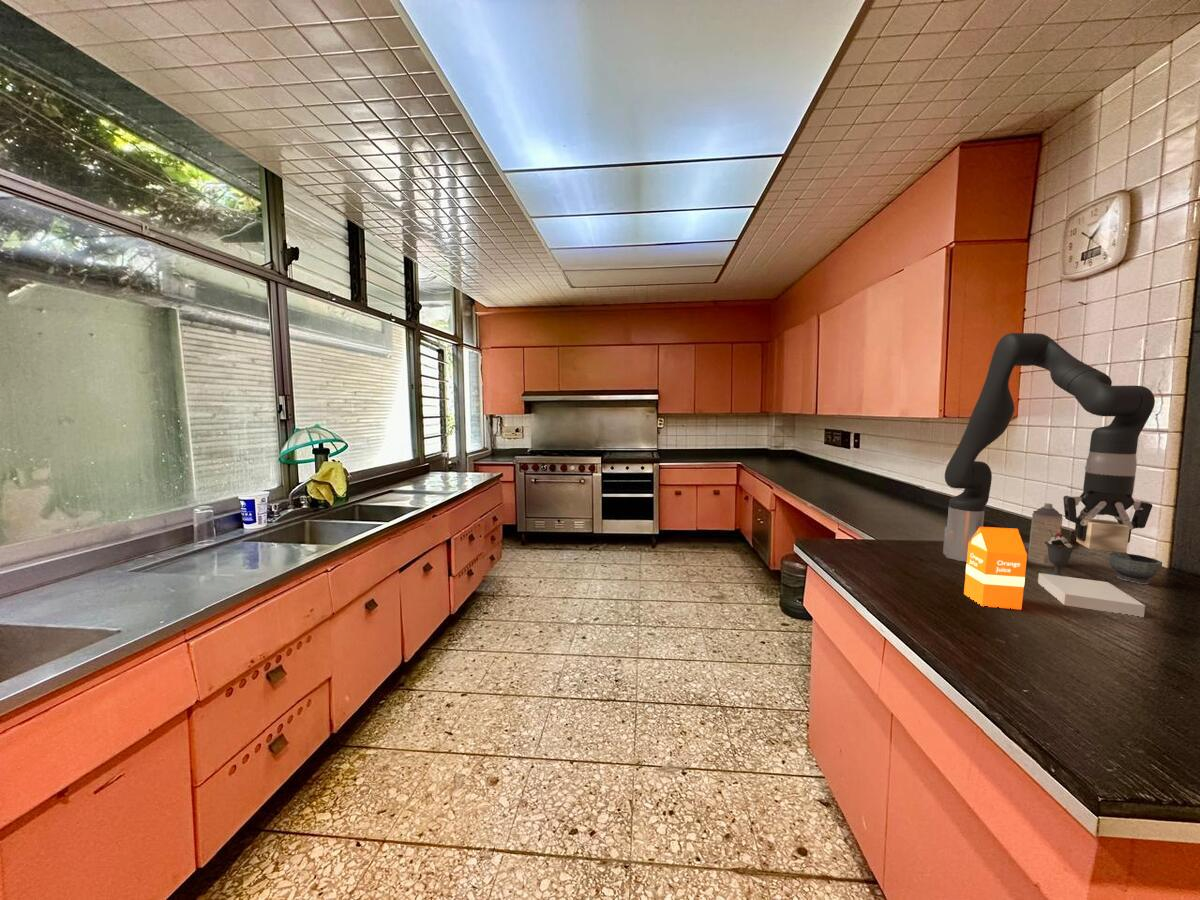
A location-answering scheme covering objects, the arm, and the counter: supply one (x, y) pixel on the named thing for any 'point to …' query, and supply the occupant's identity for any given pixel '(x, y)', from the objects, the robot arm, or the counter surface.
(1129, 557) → the mortar and pestle
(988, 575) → the orange juice
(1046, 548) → the aerosol can
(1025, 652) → the counter surface
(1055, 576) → the cream board
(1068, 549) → the sundae
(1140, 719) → the counter surface
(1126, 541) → the birch block
